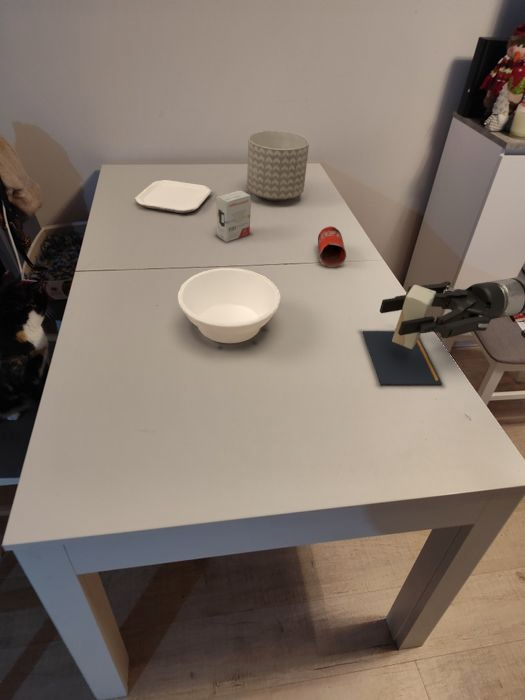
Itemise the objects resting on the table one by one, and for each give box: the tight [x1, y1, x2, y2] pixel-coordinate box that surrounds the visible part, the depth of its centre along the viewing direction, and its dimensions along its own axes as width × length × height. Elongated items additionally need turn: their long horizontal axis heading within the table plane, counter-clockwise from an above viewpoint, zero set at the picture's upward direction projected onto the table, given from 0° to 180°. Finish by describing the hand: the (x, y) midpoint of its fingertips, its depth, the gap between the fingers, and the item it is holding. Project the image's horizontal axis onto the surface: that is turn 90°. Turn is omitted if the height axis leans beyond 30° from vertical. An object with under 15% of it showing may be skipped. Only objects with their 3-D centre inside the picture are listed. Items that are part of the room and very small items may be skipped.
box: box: [392, 284, 436, 349], centre depth 85 cm, size 5×4×11 cm
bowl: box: [177, 267, 282, 344], centre depth 94 cm, size 21×21×8 cm
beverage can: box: [317, 225, 347, 268], centre depth 119 cm, size 7×12×7 cm, turn 178°
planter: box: [246, 130, 310, 202], centre depth 145 cm, size 19×19×18 cm
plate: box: [134, 179, 213, 214], centre depth 143 cm, size 21×21×2 cm
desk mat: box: [362, 330, 443, 386], centre depth 91 cm, size 16×12×1 cm
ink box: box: [216, 189, 252, 243], centre depth 124 cm, size 9×5×12 cm, turn 130°
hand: (391, 317), depth 83 cm, fingers closed on box, 6 cm apart
